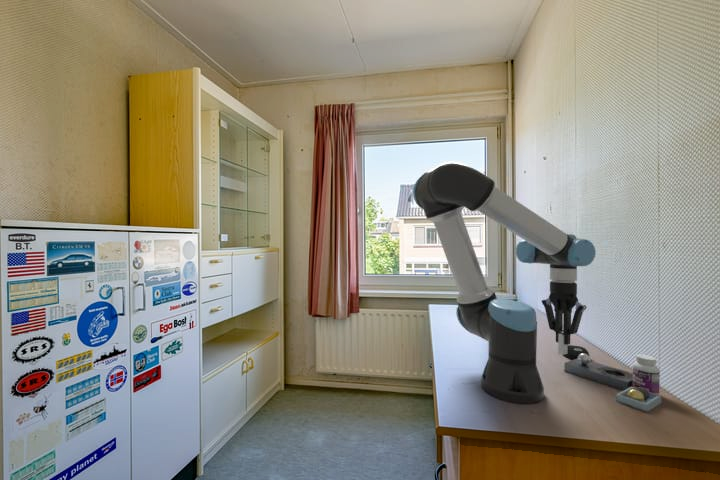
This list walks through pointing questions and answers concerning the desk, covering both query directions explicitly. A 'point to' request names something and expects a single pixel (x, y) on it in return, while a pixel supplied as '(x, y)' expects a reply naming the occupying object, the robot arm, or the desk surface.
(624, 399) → the parts tray
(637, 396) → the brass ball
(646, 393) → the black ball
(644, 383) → the pill bottle
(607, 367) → the block
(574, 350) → the computer mouse
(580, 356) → the steel ball
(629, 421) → the desk surface
